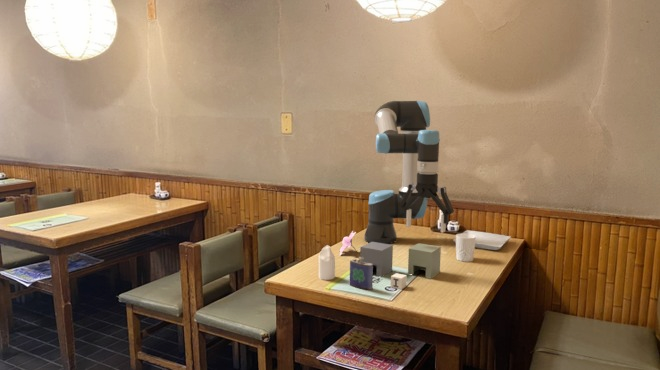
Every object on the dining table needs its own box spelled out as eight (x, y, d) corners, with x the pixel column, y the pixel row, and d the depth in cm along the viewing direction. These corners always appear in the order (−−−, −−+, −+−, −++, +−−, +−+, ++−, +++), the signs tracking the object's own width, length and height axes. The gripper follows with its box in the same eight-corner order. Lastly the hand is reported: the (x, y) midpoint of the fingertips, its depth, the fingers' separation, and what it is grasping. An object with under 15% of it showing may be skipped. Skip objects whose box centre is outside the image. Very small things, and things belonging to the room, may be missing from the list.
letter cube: (390, 287, 172) (390, 276, 172) (396, 284, 175) (396, 273, 175) (400, 289, 170) (401, 278, 169) (406, 286, 173) (406, 275, 173)
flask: (373, 288, 170) (374, 258, 169) (369, 291, 168) (369, 260, 166) (352, 283, 176) (352, 253, 174) (347, 285, 174) (347, 255, 172)
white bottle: (318, 247, 177) (318, 243, 183) (318, 280, 179) (318, 274, 185) (335, 247, 177) (334, 243, 183) (335, 280, 179) (334, 274, 185)
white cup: (475, 262, 200) (476, 238, 198) (455, 261, 201) (456, 237, 200) (473, 257, 207) (474, 234, 206) (454, 256, 209) (455, 233, 207)
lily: (345, 249, 221) (335, 232, 219) (368, 242, 216) (359, 224, 214) (339, 265, 211) (328, 247, 208) (363, 258, 206) (352, 239, 203)
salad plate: (500, 253, 214) (500, 246, 213) (452, 246, 225) (452, 239, 224) (511, 243, 231) (511, 235, 231) (466, 236, 242) (466, 229, 242)
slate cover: (360, 272, 187) (360, 246, 186) (371, 266, 195) (371, 241, 193) (381, 277, 182) (381, 250, 181) (392, 270, 190) (392, 245, 188)
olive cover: (407, 274, 185) (408, 248, 184) (417, 268, 193) (418, 243, 191) (430, 279, 180) (431, 252, 179) (439, 272, 188) (440, 246, 186)
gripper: (391, 171, 184) (390, 226, 188) (457, 176, 171) (454, 236, 175) (400, 168, 191) (399, 222, 194) (464, 174, 177) (461, 231, 181)
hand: (425, 229), depth 184 cm, fingers open, 13 cm apart
